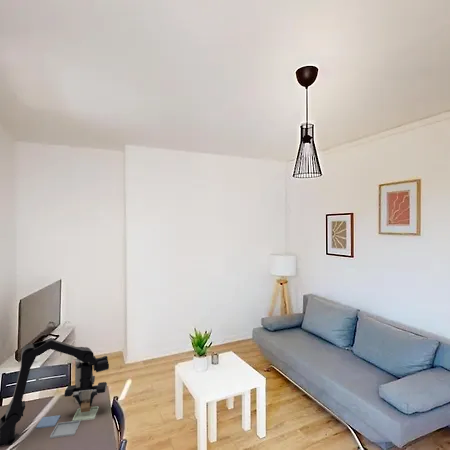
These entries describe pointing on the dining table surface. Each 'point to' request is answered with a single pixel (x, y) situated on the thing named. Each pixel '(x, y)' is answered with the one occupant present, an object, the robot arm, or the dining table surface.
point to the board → (48, 421)
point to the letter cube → (85, 405)
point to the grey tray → (65, 429)
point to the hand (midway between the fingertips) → (86, 406)
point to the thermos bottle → (77, 382)
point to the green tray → (85, 414)
